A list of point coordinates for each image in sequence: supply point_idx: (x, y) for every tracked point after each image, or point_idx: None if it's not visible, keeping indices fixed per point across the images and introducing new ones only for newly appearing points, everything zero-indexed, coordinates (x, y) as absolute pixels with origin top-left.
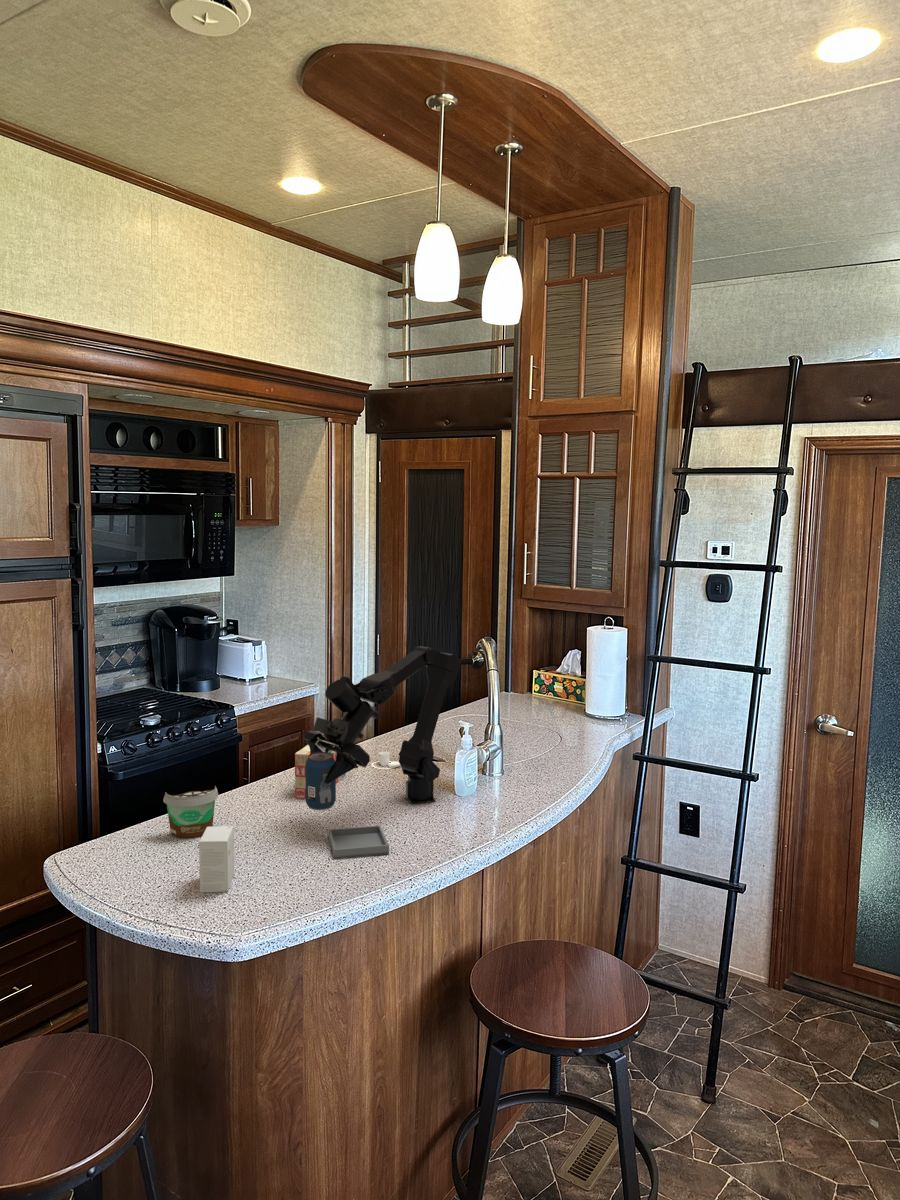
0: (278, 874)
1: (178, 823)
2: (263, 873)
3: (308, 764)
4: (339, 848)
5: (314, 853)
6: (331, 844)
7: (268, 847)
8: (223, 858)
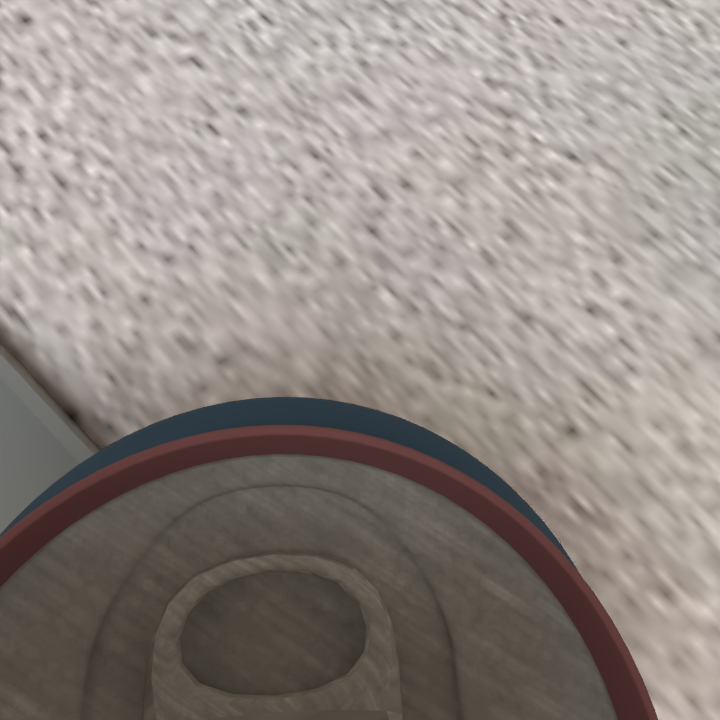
0: (142, 67)
1: None
2: (211, 47)
3: (377, 419)
4: (13, 432)
5: (135, 330)
6: (67, 421)
7: (403, 267)
8: None
